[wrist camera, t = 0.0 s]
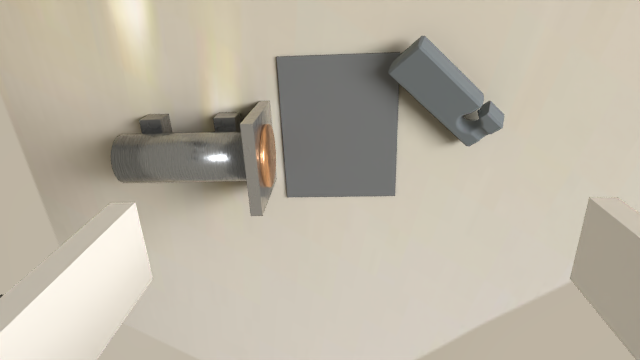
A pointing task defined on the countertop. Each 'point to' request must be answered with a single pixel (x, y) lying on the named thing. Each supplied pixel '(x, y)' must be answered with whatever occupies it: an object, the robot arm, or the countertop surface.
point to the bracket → (445, 91)
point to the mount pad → (339, 124)
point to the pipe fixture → (203, 153)
